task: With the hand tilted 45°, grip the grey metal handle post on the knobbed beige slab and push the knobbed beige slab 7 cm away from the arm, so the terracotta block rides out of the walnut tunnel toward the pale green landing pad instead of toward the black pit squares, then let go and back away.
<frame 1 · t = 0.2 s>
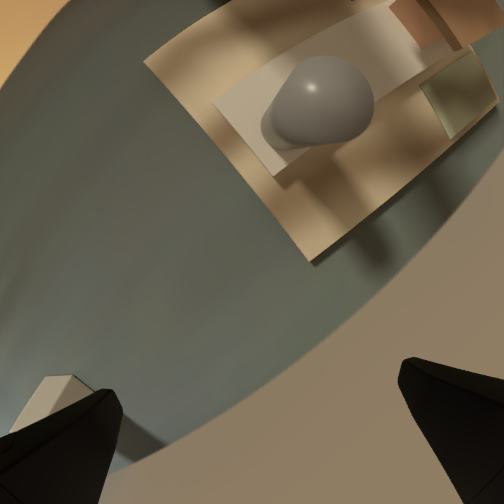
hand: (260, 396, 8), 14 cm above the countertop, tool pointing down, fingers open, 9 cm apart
knobbed beige slab: (388, 39, 12), point 6 cm above the countertop, slide at 0.0 cm
tunnel: (438, 9, 12), on the board, point 4 cm above the countertop
board: (362, 66, 18), on the countertop
jar: (77, 399, 26), on the countertop
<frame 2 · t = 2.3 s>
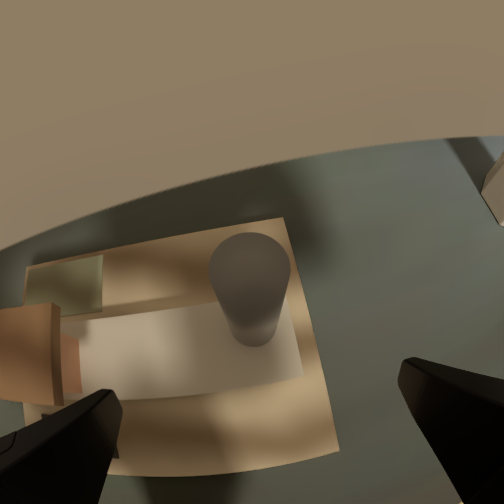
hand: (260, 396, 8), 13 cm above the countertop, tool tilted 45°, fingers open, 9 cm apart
knobbed beige slab: (120, 344, 14), point 6 cm above the countertop, slide at 0.0 cm
tunnel: (36, 362, 16), on the board, point 4 cm above the countertop
board: (143, 354, 20), on the countertop
jar: (503, 205, 26), on the countertop
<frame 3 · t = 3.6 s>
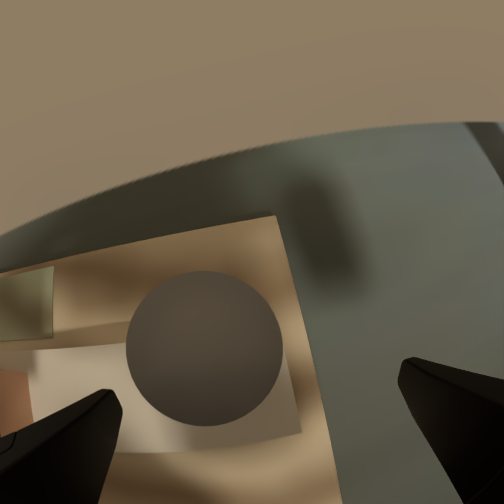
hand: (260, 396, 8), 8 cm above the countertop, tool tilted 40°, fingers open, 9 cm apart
knobbed beige slab: (55, 400, 9), point 6 cm above the countertop, slide at 0.0 cm
board: (103, 391, 15), on the countertop
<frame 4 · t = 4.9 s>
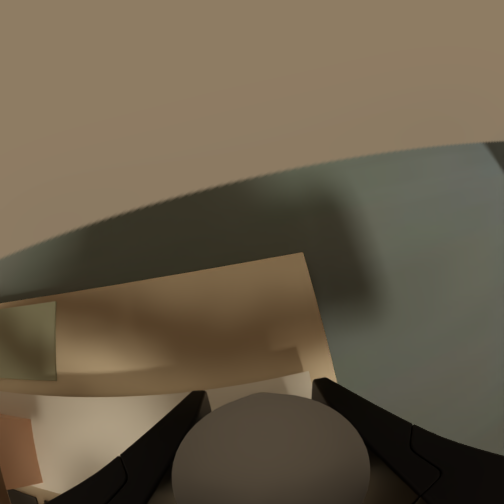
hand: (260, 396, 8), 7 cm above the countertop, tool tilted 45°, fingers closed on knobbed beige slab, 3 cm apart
knobbed beige slab: (66, 466, 7), point 6 cm above the countertop, slide at 0.0 cm, touching gripper
board: (113, 439, 13), on the countertop
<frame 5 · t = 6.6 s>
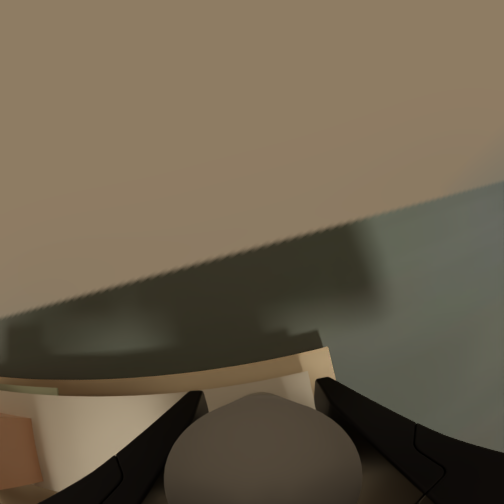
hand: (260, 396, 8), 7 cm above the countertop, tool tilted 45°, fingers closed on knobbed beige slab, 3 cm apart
knobbed beige slab: (65, 466, 7), point 6 cm above the countertop, slide at 5.5 cm, touching gripper
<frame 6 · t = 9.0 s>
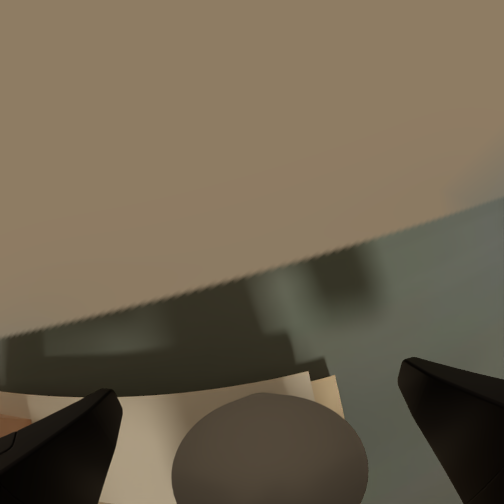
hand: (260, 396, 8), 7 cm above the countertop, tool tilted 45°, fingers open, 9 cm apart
knobbed beige slab: (66, 466, 7), point 6 cm above the countertop, slide at 7.0 cm
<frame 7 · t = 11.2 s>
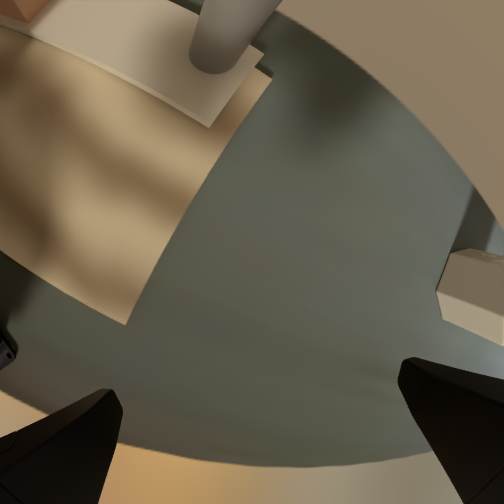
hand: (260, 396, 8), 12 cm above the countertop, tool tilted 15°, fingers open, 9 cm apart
board: (43, 103, 14), on the countertop
jar: (454, 282, 29), on the countertop
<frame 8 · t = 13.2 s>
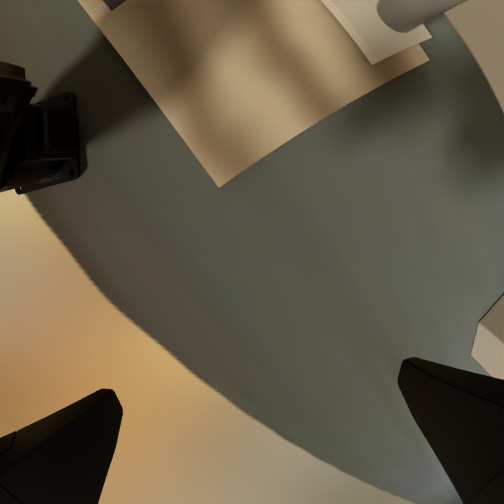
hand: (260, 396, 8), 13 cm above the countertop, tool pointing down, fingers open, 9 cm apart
jar: (494, 326, 25), on the countertop
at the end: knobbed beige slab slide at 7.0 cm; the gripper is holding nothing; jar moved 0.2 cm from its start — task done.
